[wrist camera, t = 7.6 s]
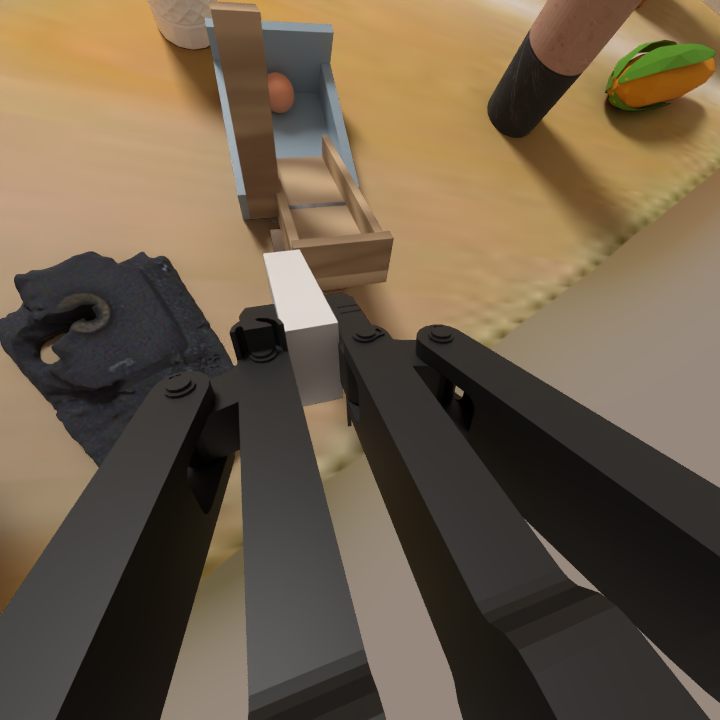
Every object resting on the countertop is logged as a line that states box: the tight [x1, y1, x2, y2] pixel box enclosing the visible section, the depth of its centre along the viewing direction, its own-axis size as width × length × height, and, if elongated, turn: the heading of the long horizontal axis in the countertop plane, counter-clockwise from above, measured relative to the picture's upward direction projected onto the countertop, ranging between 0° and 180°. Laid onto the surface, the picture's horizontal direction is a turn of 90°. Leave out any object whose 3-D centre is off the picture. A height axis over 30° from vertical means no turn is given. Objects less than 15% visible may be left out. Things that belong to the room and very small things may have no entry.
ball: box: [267, 72, 294, 113], centre depth 37 cm, size 4×4×4 cm
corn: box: [605, 40, 716, 111], centre depth 49 cm, size 7×8×20 cm
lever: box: [209, 1, 394, 290], centre depth 23 cm, size 18×9×12 cm, turn 13°
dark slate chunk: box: [0, 252, 235, 467], centre depth 29 cm, size 15×22×5 cm
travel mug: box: [488, 0, 642, 137], centre depth 36 cm, size 8×8×20 cm
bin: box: [205, 18, 359, 220], centre depth 35 cm, size 16×12×7 cm
